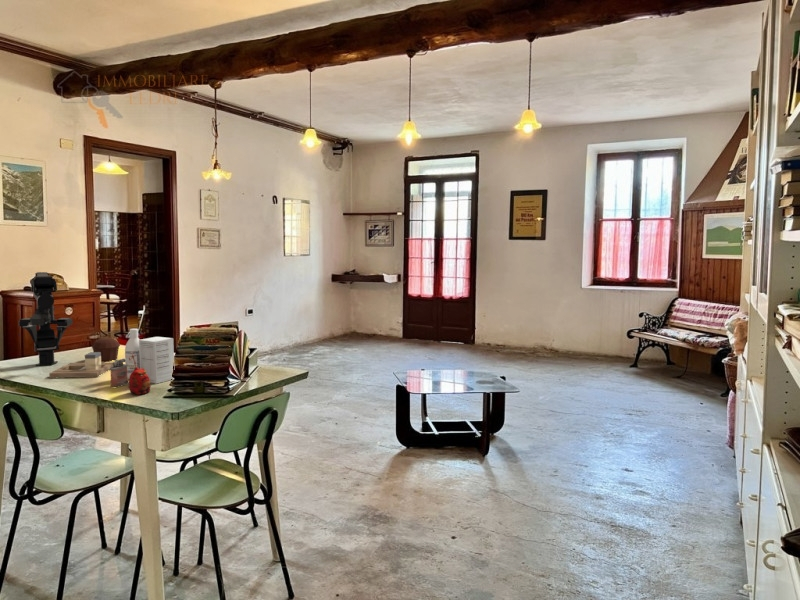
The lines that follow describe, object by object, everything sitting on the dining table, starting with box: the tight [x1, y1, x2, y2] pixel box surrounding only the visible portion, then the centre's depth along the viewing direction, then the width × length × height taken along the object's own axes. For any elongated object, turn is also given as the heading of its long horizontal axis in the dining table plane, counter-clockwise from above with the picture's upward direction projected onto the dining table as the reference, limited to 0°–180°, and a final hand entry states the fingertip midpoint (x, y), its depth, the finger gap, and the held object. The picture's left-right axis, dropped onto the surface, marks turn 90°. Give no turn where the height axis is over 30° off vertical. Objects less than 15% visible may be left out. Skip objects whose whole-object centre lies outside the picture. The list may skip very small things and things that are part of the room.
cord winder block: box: [84, 351, 102, 370], centre depth 230 cm, size 6×4×8 cm, turn 9°
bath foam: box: [124, 328, 141, 380], centre depth 221 cm, size 7×7×20 cm
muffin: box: [91, 337, 121, 362], centre depth 254 cm, size 12×11×10 cm
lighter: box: [109, 358, 129, 388], centre depth 210 cm, size 8×3×10 cm, turn 168°
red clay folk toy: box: [128, 353, 152, 396], centre depth 199 cm, size 8×7×15 cm
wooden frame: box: [48, 361, 114, 379], centre depth 229 cm, size 19×18×2 cm
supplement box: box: [139, 336, 175, 384], centre depth 218 cm, size 10×9×17 cm
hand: (47, 342), depth 231 cm, fingers open, 9 cm apart
